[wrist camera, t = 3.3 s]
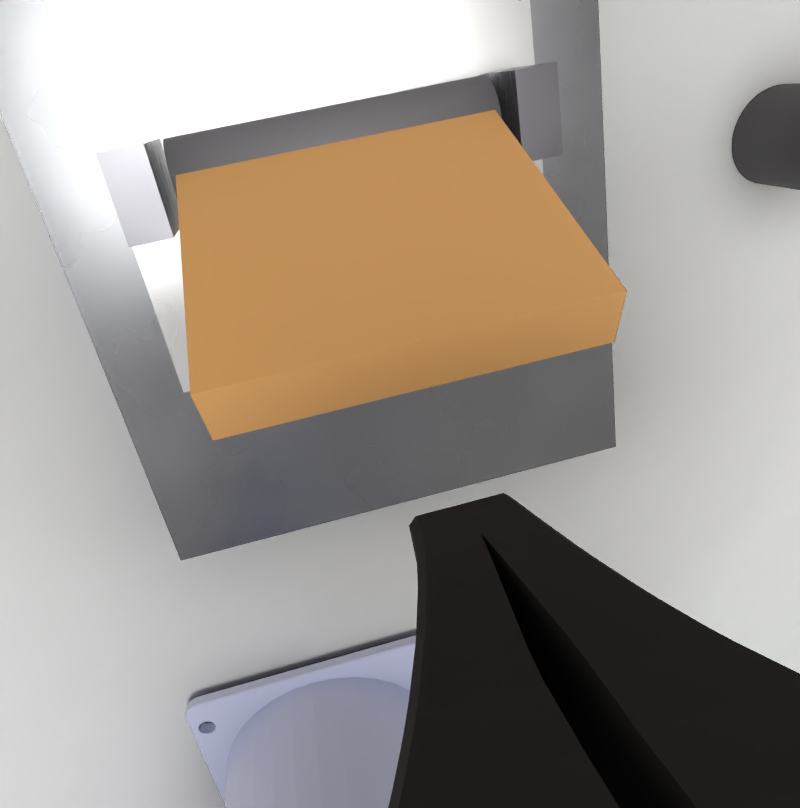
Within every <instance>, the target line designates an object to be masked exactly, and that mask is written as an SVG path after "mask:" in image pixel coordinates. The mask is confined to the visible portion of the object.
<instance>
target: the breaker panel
mask: <svg viewBox="0 0 800 808" xmlns="http://www.w3.org/2000/svg"><path fill="white" fill-rule="evenodd" d="M480 75H487V76H488V77H489V78H490V79H491V81H492V83H493V85H494V87H495V90H496V93H497V96H498V100H499V105H500V110H501V118H502V120H503V121H504V123H505V124H506V125H507V127H508V128H509V129H510V131H511V132H512V134H513V135H514V136H515V138H516V139H517V140H518V142H519V143H520V145H521V146H522V147H523V149H524V150H525V151H526V153H527V154H528V156H529V157H530V158H531V160H532V161H533V162H534V164H535V165H536V167H537V168H538V169H539V171H540V172H541V173H542V175H543V176H544V178H545V179H546V180H547V182H548V183H549V184H550V186H551V187H552V189H553V190H554V191H555V193H556V194H557V195H558V197H559V198H560V200H561V201H562V202H563V204H564V205H565V206H566V208H567V209H568V211H569V212H570V213H571V215H572V216H573V217H574V219H575V220H576V222H577V223H578V224H579V226H580V227H581V228H582V230H583V231H584V233H585V234H586V235H587V237H588V238H589V239H590V241H591V242H592V244H593V245H594V246H595V248H596V249H597V250H598V252H599V253H600V255H601V256H602V257H603V259H604V260H605V261H606V263H607V264H608V266H609V263H608V237H607V212H606V187H605V162H604V136H603V111H602V86H601V60H600V35H599V10H598V0H0V114H1V117H2V119H3V122H4V124H5V127H6V129H7V132H8V134H9V137H10V139H11V142H12V144H13V147H14V149H15V152H16V154H17V156H18V159H19V161H20V164H21V166H22V169H23V171H24V174H25V176H26V179H27V181H28V184H29V186H30V189H31V191H32V194H33V196H34V199H35V201H36V203H37V206H38V208H39V211H40V213H41V216H42V218H43V221H44V223H45V226H46V228H47V231H48V233H49V236H50V238H51V241H52V243H53V245H54V248H55V250H56V253H57V255H58V258H59V260H60V263H61V265H62V268H63V270H64V273H65V275H66V278H67V280H68V283H69V285H70V288H71V290H72V292H73V295H74V297H75V300H76V302H77V305H78V307H79V310H80V312H81V315H82V317H83V320H84V322H85V325H86V327H87V330H88V332H89V334H90V337H91V339H92V342H93V344H94V347H95V349H96V352H97V354H98V357H99V359H100V362H101V364H102V367H103V369H104V372H105V374H106V377H107V379H108V381H109V384H110V386H111V389H112V391H113V394H114V396H115V399H116V401H117V404H118V406H119V409H120V411H121V414H122V416H123V419H124V421H125V424H126V426H127V428H128V431H129V433H130V436H131V438H132V441H133V443H134V446H135V448H136V451H137V453H138V456H139V458H140V461H141V463H142V466H143V468H144V470H145V473H146V475H147V478H148V480H149V483H150V485H151V488H152V490H153V493H154V495H155V498H156V500H157V503H158V505H159V508H160V510H161V513H162V515H163V517H164V520H165V522H166V525H167V527H168V530H169V532H170V535H171V537H172V540H173V542H174V545H175V547H176V550H177V552H178V555H179V557H180V559H181V560H185V559H188V558H192V557H196V556H200V555H204V554H208V553H211V552H215V551H219V550H223V549H227V548H230V547H234V546H238V545H242V544H246V543H250V542H253V541H257V540H261V539H265V538H269V537H272V536H276V535H280V534H284V533H288V532H291V531H295V530H299V529H303V528H307V527H311V526H314V525H318V524H322V523H326V522H330V521H333V520H337V519H341V518H345V517H349V516H353V515H356V514H360V513H364V512H368V511H372V510H375V509H379V508H383V507H387V506H391V505H395V504H398V503H402V502H406V501H410V500H414V499H417V498H421V497H425V496H429V495H433V494H437V493H440V492H444V491H448V490H452V489H456V488H459V487H463V486H467V485H471V484H475V483H479V482H482V481H486V480H490V479H494V478H498V477H501V476H505V475H509V474H513V473H517V472H521V471H524V470H528V469H532V468H536V467H540V466H543V465H547V464H551V463H555V462H559V461H563V460H566V459H570V458H574V457H578V456H582V455H585V454H589V453H593V452H597V451H601V450H605V449H608V448H612V447H616V440H615V415H614V389H613V364H612V343H609V344H605V345H601V346H596V347H592V348H588V349H584V350H580V351H576V352H572V353H568V354H564V355H560V356H556V357H552V358H548V359H543V360H539V361H535V362H531V363H527V364H523V365H519V366H515V367H511V368H507V369H503V370H499V371H495V372H491V373H486V374H482V375H478V376H474V377H470V378H466V379H462V380H458V381H454V382H450V383H446V384H442V385H438V386H433V387H429V388H425V389H421V390H417V391H413V392H409V393H405V394H401V395H397V396H393V397H389V398H385V399H381V400H376V401H372V402H368V403H364V404H360V405H356V406H352V407H348V408H344V409H340V410H336V411H332V412H328V413H323V414H319V415H315V416H311V417H307V418H303V419H299V420H295V421H291V422H287V423H283V424H279V425H275V426H271V427H266V428H262V429H258V430H254V431H250V432H246V433H242V434H238V435H234V436H230V437H226V438H222V439H218V440H213V439H212V437H211V435H210V433H209V431H208V429H207V427H206V425H205V423H204V421H203V419H202V417H201V415H200V413H199V411H198V409H197V407H196V405H195V403H194V401H193V399H192V397H191V395H190V382H189V368H188V353H187V338H186V323H185V308H184V293H183V278H182V264H181V249H180V234H179V219H178V204H177V197H176V194H175V191H174V188H173V185H172V182H171V178H170V175H169V171H168V167H167V163H166V158H165V153H164V146H163V139H164V138H169V137H174V136H179V135H184V134H189V133H194V132H199V131H204V130H209V129H214V128H219V127H224V126H229V125H234V124H239V123H244V122H249V121H254V120H259V119H264V118H269V117H274V116H279V115H284V114H289V113H294V112H299V111H304V110H309V109H314V108H319V107H324V106H329V105H334V104H339V103H344V102H349V101H354V100H359V99H364V98H369V97H374V96H379V95H384V94H389V93H394V92H399V91H405V90H410V89H415V88H420V87H425V86H430V85H435V84H440V83H445V82H450V81H455V80H460V79H465V78H470V77H475V76H480Z"/></svg>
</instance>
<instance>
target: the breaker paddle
mask: <svg viewBox="0 0 800 808" xmlns="http://www.w3.org/2000/svg"><path fill="white" fill-rule="evenodd" d="M163 146H164V153H165V158H166V163H167V167H168V171H169V175H170V178H171V182H172V185H173V188H174V191H175V194H176V197H177V204H178V219H179V234H180V249H181V264H182V278H183V293H184V308H185V323H186V338H187V353H188V368H189V382H190V395H191V397H192V399H193V401H194V403H195V405H196V407H197V409H198V411H199V413H200V415H201V417H202V419H203V421H204V423H205V425H206V427H207V429H208V431H209V433H210V435H211V437H212V439H213V440H218V439H222V438H226V437H230V436H234V435H238V434H242V433H246V432H250V431H254V430H258V429H262V428H266V427H271V426H275V425H279V424H283V423H287V422H291V421H295V420H299V419H303V418H307V417H311V416H315V415H319V414H323V413H328V412H332V411H336V410H340V409H344V408H348V407H352V406H356V405H360V404H364V403H368V402H372V401H376V400H381V399H385V398H389V397H393V396H397V395H401V394H405V393H409V392H413V391H417V390H421V389H425V388H429V387H433V386H438V385H442V384H446V383H450V382H454V381H458V380H462V379H466V378H470V377H474V376H478V375H482V374H486V373H491V372H495V371H499V370H503V369H507V368H511V367H515V366H519V365H523V364H527V363H531V362H535V361H539V360H543V359H548V358H552V357H556V356H560V355H564V354H568V353H572V352H576V351H580V350H584V349H588V348H592V347H596V346H601V345H605V344H609V343H613V342H615V338H616V333H617V329H618V325H619V321H620V317H621V313H622V309H623V305H624V300H625V296H626V292H627V290H626V289H625V288H624V286H623V285H622V283H621V282H620V281H619V279H618V278H617V277H616V275H615V274H614V272H613V271H612V270H611V268H610V267H609V266H608V264H607V263H606V261H605V260H604V259H603V257H602V256H601V255H600V253H599V252H598V250H597V249H596V248H595V246H594V245H593V244H592V242H591V241H590V239H589V238H588V237H587V235H586V234H585V233H584V231H583V230H582V228H581V227H580V226H579V224H578V223H577V222H576V220H575V219H574V217H573V216H572V215H571V213H570V212H569V211H568V209H567V208H566V206H565V205H564V204H563V202H562V201H561V200H560V198H559V197H558V195H557V194H556V193H555V191H554V190H553V189H552V187H551V186H550V184H549V183H548V182H547V180H546V179H545V178H544V176H543V175H542V173H541V172H540V171H539V169H538V168H537V167H536V165H535V164H534V162H533V161H532V160H531V158H530V157H529V156H528V154H527V153H526V151H525V150H524V149H523V147H522V146H521V145H520V143H519V142H518V140H517V139H516V138H515V136H514V135H513V134H512V132H511V131H510V129H509V128H508V127H507V125H506V124H505V123H504V121H503V120H502V118H501V110H500V105H499V100H498V96H497V93H496V90H495V87H494V85H493V83H492V81H491V79H490V78H489V77H488V76H487V75H480V76H475V77H470V78H465V79H460V80H455V81H450V82H445V83H440V84H435V85H430V86H425V87H420V88H415V89H410V90H405V91H399V92H394V93H389V94H384V95H379V96H374V97H369V98H364V99H359V100H354V101H349V102H344V103H339V104H334V105H329V106H324V107H319V108H314V109H309V110H304V111H299V112H294V113H289V114H284V115H279V116H274V117H269V118H264V119H259V120H254V121H249V122H244V123H239V124H234V125H229V126H224V127H219V128H214V129H209V130H204V131H199V132H194V133H189V134H184V135H179V136H174V137H169V138H164V139H163Z"/></svg>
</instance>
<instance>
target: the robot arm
mask: <svg viewBox="0 0 800 808" xmlns="http://www.w3.org/2000/svg"><path fill="white" fill-rule="evenodd" d="M409 527H410V532H411V537H412V542H413V546H414V551H415V556H416V561H417V572H418V603H417V629H416V635H415V636H411V637H407V638H404V639H400V640H397V641H393V642H390V643H386V644H383V645H379V646H376V647H372V648H369V649H365V650H361V651H358V652H354V653H351V654H347V655H344V656H340V657H337V658H333V659H330V660H326V661H323V662H319V663H316V664H312V665H308V666H305V667H301V668H298V669H294V670H291V671H287V672H284V673H280V674H277V675H273V676H270V677H266V678H262V679H259V680H255V681H252V682H248V683H245V684H241V685H238V686H234V687H231V688H227V689H224V690H220V691H216V692H213V693H209V694H206V695H202V696H199V697H196V698H194V699H192V700H191V701H190V702H189V703H188V705H187V708H186V720H187V723H188V725H189V727H190V729H191V731H192V733H193V736H194V738H195V740H196V742H197V744H198V746H199V749H200V751H201V753H202V755H203V757H204V759H205V762H206V764H207V766H208V768H209V770H210V772H211V775H212V777H213V779H214V781H215V783H216V786H217V788H218V790H219V792H220V794H221V796H222V799H223V801H224V803H225V808H800V674H799V673H797V672H795V671H793V670H791V669H789V668H787V667H785V666H783V665H781V664H779V663H777V662H775V661H773V660H771V659H769V658H767V657H765V656H763V655H761V654H759V653H757V652H755V651H753V650H750V649H748V648H746V647H744V646H742V645H740V644H738V643H736V642H734V641H732V640H731V639H729V638H727V637H725V636H723V635H721V634H719V633H717V632H715V631H714V630H712V629H710V628H708V627H706V626H705V625H703V624H701V623H699V622H698V621H696V620H694V619H692V618H691V617H689V616H687V615H686V614H684V613H682V612H680V611H679V610H677V609H675V608H674V607H672V606H670V605H668V604H667V603H665V602H663V601H662V600H660V599H658V598H657V597H655V596H653V595H652V594H650V593H649V592H647V591H645V590H644V589H642V588H641V587H639V586H637V585H636V584H634V583H633V582H631V581H630V580H628V579H626V578H625V577H623V576H622V575H620V574H619V573H617V572H616V571H614V570H613V569H611V568H610V567H608V566H607V565H605V564H604V563H602V562H601V561H599V560H598V559H596V558H594V557H593V556H591V555H590V554H589V553H587V552H586V551H584V550H583V549H581V548H580V547H578V546H577V545H576V544H574V543H573V542H571V541H570V540H569V539H567V538H566V537H564V536H563V535H562V534H560V533H559V532H557V531H556V530H555V529H553V528H552V527H550V526H549V525H548V524H546V523H545V522H544V521H542V520H541V519H540V518H538V517H537V516H535V515H534V514H533V513H531V512H530V511H529V510H527V509H526V508H525V507H523V506H522V505H521V504H519V503H518V502H517V501H515V500H514V499H513V498H511V497H509V496H508V495H506V494H505V493H502V494H498V495H495V496H491V497H487V498H483V499H479V500H476V501H472V502H468V503H464V504H460V505H457V506H453V507H449V508H445V509H442V510H438V511H434V512H430V513H426V514H423V515H419V516H416V517H415V518H414V520H413V521H412V522H411V524H410V525H409ZM207 721H210V722H211V723H203V722H207Z"/></svg>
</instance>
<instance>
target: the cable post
mask: <svg viewBox="0 0 800 808" xmlns="http://www.w3.org/2000/svg"><path fill="white" fill-rule="evenodd" d="M732 152H733V158H734V162H735V164H736V167H737V168H738V170H739V172H740V173H741V174H742V175H743V176H744V177H745V178H746V179H748V180H750V181H752V182H755V183H760V184H766V185H772V186H779V187H785V188H791V189H798V190H800V84H782V85H776V86H773V87H770V88H768V89H766V90H764V91H763V92H761V93H760V94H758V95H757V96H756V97H755V98H754V99H753V100H752V101H751V102H750V103H749V104H748V105H747V106H746V108H745V109H744V111H743V112H742V114H741V116H740V118H739V120H738V122H737V124H736V127H735V131H734V135H733V142H732Z"/></svg>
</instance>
